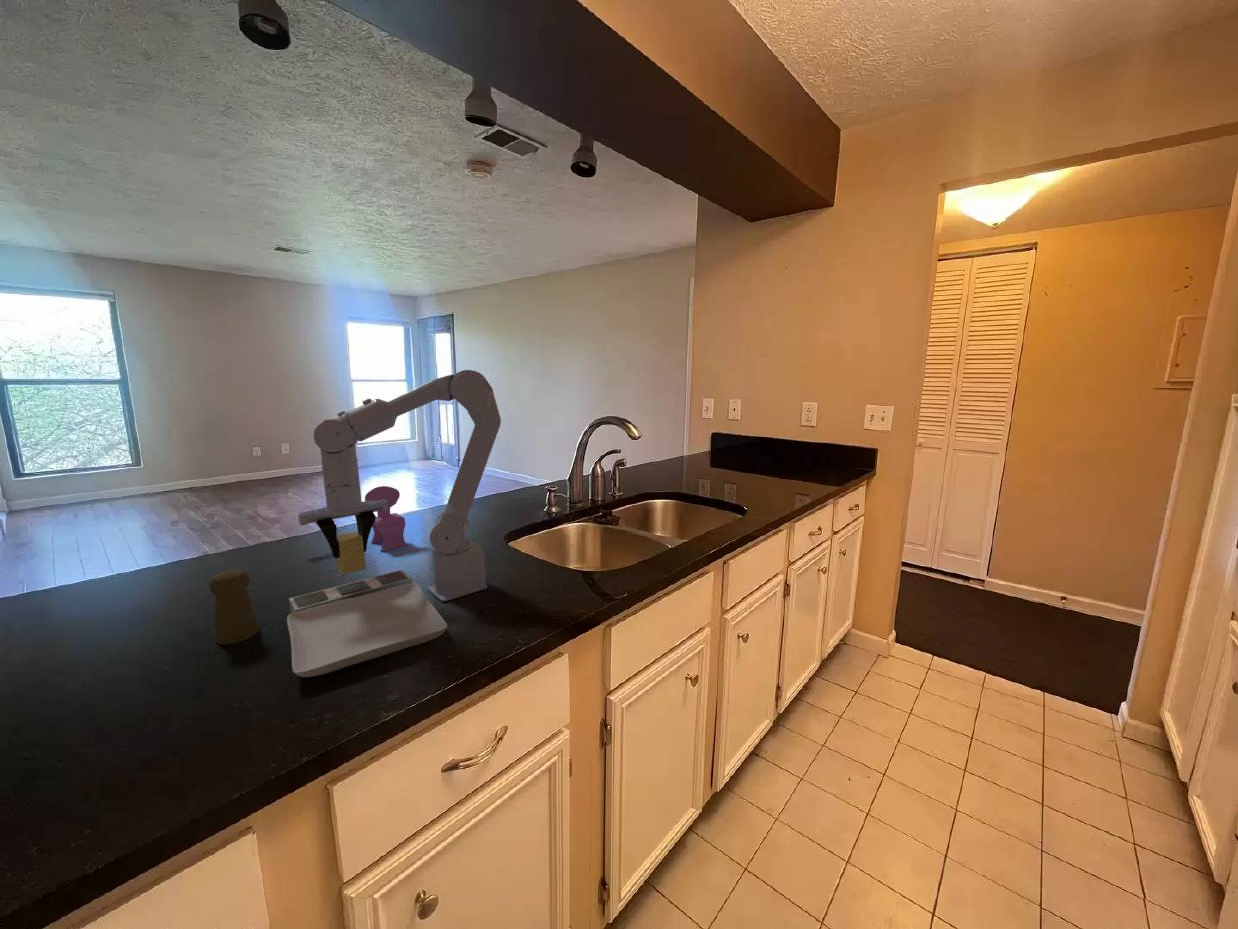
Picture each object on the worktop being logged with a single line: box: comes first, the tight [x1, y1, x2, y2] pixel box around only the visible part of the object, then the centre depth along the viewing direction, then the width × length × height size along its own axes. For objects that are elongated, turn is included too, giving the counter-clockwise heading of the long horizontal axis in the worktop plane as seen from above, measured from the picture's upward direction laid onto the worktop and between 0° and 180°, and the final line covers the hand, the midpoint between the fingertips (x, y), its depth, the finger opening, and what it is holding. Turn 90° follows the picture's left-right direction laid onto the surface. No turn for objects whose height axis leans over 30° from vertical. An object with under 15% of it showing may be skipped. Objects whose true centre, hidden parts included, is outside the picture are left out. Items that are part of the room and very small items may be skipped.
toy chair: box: [364, 485, 408, 553], centre depth 123 cm, size 8×9×15 cm
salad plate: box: [286, 582, 448, 678], centre depth 80 cm, size 21×21×3 cm
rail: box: [288, 569, 413, 614], centre depth 93 cm, size 20×6×2 cm, turn 132°
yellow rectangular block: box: [335, 531, 366, 575], centre depth 92 cm, size 4×4×6 cm
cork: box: [208, 569, 261, 645], centre depth 80 cm, size 6×6×11 cm
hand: (349, 553), depth 92 cm, fingers closed on yellow rectangular block, 4 cm apart
